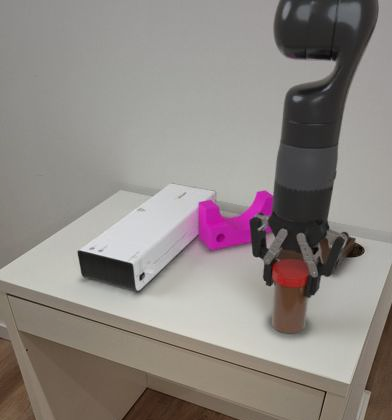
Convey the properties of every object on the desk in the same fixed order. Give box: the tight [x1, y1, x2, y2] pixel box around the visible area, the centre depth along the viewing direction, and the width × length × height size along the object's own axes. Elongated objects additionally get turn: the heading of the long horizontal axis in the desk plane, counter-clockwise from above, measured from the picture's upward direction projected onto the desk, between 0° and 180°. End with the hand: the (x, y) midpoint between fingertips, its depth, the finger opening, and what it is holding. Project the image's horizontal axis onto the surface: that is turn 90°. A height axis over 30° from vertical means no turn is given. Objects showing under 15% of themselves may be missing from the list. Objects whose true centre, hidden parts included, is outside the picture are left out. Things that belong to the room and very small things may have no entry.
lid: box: [272, 259, 310, 287], centre depth 70 cm, size 6×6×2 cm
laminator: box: [76, 182, 217, 293], centre depth 94 cm, size 34×12×6 cm, turn 154°
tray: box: [276, 236, 357, 275], centre depth 93 cm, size 12×12×2 cm
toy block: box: [198, 189, 273, 251], centre depth 97 cm, size 15×6×8 cm, turn 113°
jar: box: [271, 281, 309, 334], centre depth 73 cm, size 5×5×9 cm
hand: (289, 289), depth 72 cm, fingers closed on lid, 5 cm apart
